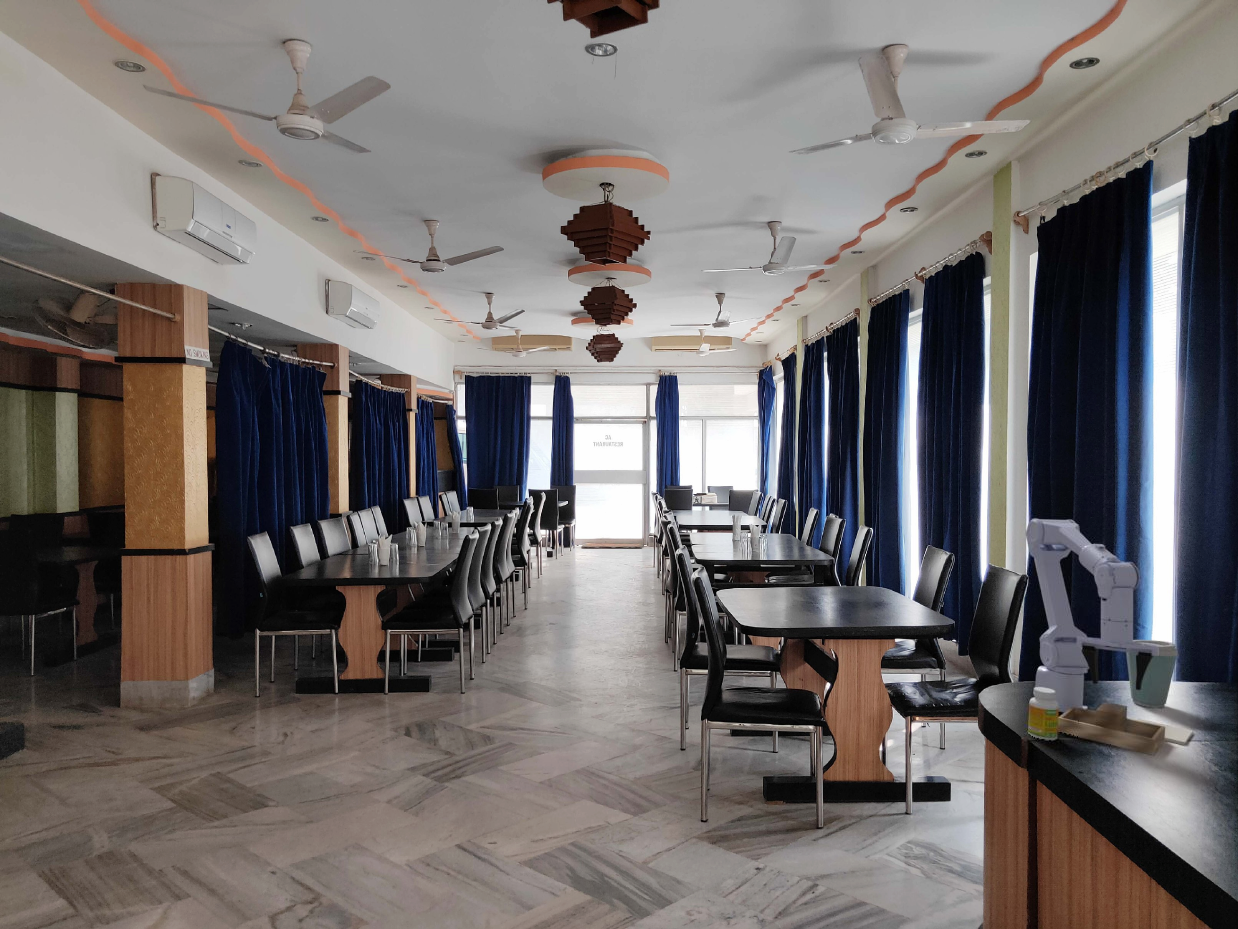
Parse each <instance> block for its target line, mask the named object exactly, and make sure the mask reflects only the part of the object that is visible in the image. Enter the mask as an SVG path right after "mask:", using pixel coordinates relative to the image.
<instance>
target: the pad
mask: <svg viewBox="0 0 1238 929" xmlns="http://www.w3.org/2000/svg"><path fill="white" fill-rule="evenodd" d="M1136 720H1137V721H1142V722H1146V723H1151V724H1156V725H1160V726H1165V741H1164V742H1169V743H1174V744H1179V745H1182V746H1186V744H1188V743H1187V742H1188V741H1189V740H1190V738H1191V737H1192V735H1193V733H1194V730H1192V729H1188V728H1184V727H1178V726H1173V725H1169V724H1164V723H1159V722H1155V721H1151V720H1146V719H1142V718H1137V719H1136ZM1188 739H1189V740H1188Z"/></svg>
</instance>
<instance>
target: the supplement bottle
mask: <svg viewBox="0 0 1238 929" xmlns="http://www.w3.org/2000/svg"><path fill="white" fill-rule="evenodd" d="M1033 696H1034V697H1031V698H1030V700H1029V704H1028V706H1029V707H1028V723H1027V724H1028V726H1027V729H1028V730H1027V733H1028V735H1029V734H1030V735H1031V736H1030V735H1029V736H1030V737H1032V736H1033V737H1032V738H1034V737H1035V738H1034V739H1037V738H1039V739H1038V740H1041V739H1045V740H1044V741H1049V740H1051V741H1055V740H1057V739H1058V733H1059V732H1058V717H1059V705H1058V703H1057V702H1056V701H1054V699H1055V691H1054V690H1052V689H1049V688H1044V687H1033Z"/></svg>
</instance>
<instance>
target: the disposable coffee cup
mask: <svg viewBox="0 0 1238 929" xmlns="http://www.w3.org/2000/svg"><path fill="white" fill-rule="evenodd" d="M1133 642H1137V643H1143V644H1150V645H1158V646H1159V655H1158V656H1153V658H1152V659H1151V661H1150V663H1149V665H1148V667H1147V669H1146V671H1145V674H1144V677H1143V680H1142V685H1141V690H1136V676H1137V669H1136V655H1138V653H1131V652H1125V654H1126V663H1127V671H1128V680H1129V681H1128V682H1129V688H1130V698H1131V699H1132V702H1133V703H1134V704H1136V705H1139V706H1142V707H1147V708H1152V709H1163V708H1164V707H1165V705H1166V704H1167V700H1168V696H1169V691H1170V687H1171V682H1172V680H1173V674H1174V671H1175V666H1176V662H1177V659H1178V658H1177V657H1178V656H1179V653H1178V652H1179V651H1178V649H1176V644H1175V643H1174V642H1169V641H1164V640H1155V639H1133ZM1125 649H1127V648H1125ZM1129 650H1130V649H1129Z"/></svg>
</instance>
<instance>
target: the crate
mask: <svg viewBox="0 0 1238 929" xmlns="http://www.w3.org/2000/svg"><path fill="white" fill-rule="evenodd" d="M1078 721H1079V722H1078ZM1095 723H1096V710H1091V709H1083V708H1078V707H1074V706H1072V707H1071V708H1070V709H1068V710H1067V711H1066V712H1065V713H1063V712H1062V714H1061V715H1059V716H1058V733H1060V732H1062V733H1061V734H1064V733H1066V734H1065V735H1069V734H1071V735H1070V736H1073V735H1074V736H1073V737H1077V736H1078V737H1077V738H1081V739H1086V740H1089V739H1090V741H1094V742H1098V743H1101V744H1107V745H1110V744H1111V745H1110V746H1115V747H1119V748H1123V749H1127V750H1132V751H1135V752H1139V753H1144V754H1147V755H1152V756H1155V754H1156V753H1157V751H1158V750H1159V749H1160V748H1161V747H1162V745H1163V744H1164V743H1165V742H1166V741H1165V726H1160V725H1156V724H1151V723H1146V722H1142V721H1137V719H1133V718H1128V717H1127V721H1126V732H1122V731H1117V730H1113V729H1109V728H1104V727H1100V726H1096V725H1095Z"/></svg>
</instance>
